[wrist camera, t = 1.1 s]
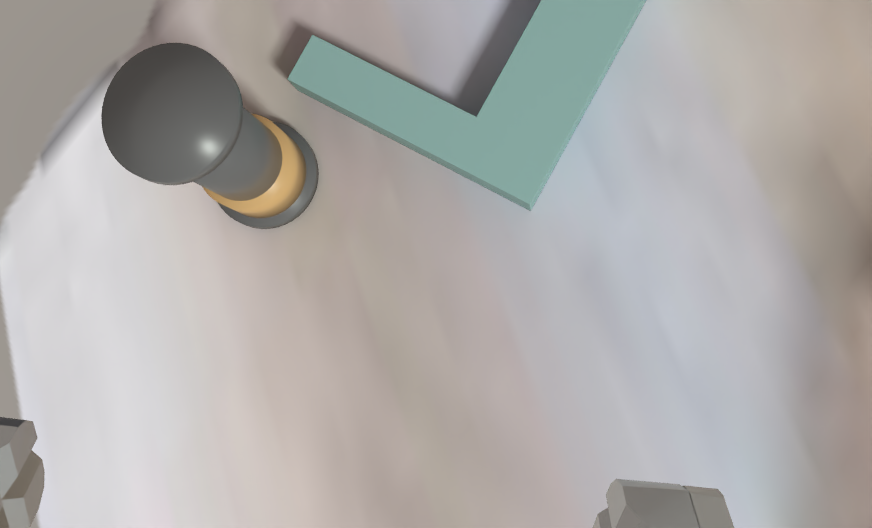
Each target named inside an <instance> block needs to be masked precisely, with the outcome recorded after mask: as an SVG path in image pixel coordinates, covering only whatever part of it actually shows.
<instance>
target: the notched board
mask: <svg viewBox="0 0 872 528" xmlns="http://www.w3.org/2000/svg"><path fill="white" fill-rule="evenodd" d="M645 2H646V0H541V2H540V3H539V5H538V7H537V9H536V11H535V12H534V14H533V16H532V18H531V20H530V21H529V23H528V25H527V27H526V29H525V30H524V32H523V34H522V36H521V38H520V39H519V41H518V43H517V45H516V47H515V48H514V50H513V52H512V54H511V56H510V58H509V59H508V61H507V63H506V65H505V67H504V68H503V70H502V72H501V74H500V76H499V77H498V79H497V81H496V83H495V85H494V86H493V88H492V90H491V92H490V94H489V95H488V97H487V99H486V101H485V103H484V104H483V106H482V108H481V110H480V112H479V113H478V115H477V117H475V116H473V115H471V114H469V113H467V112H465V111H463V110H461V109H459V108H457V107H456V106H454V105H452V104H450V103H448V102H446V101H444V100H442V99H440V98H438V97H436V96H434V95H432V94H430V93H428V92H426V91H424V90H422V89H420V88H418V87H416V86H414V85H412V84H410V83H408V82H406V81H404V80H402V79H400V78H398V77H396V76H394V75H392V74H390V73H388V72H386V71H384V70H382V69H380V68H378V67H376V66H374V65H372V64H370V63H368V62H366V61H364V60H362V59H360V58H358V57H356V56H354V55H352V54H350V53H348V52H346V51H344V50H342V49H340V48H338V47H336V46H334V45H332V44H330V43H328V42H326V41H324V40H322V39H320V38H318V37H316V36H314V35H312V37H311V38H310V40H309V42H308V44H307V45H306V47H305V49H304V51H303V52H302V54H301V56H300V58H299V59H298V61H297V63H296V65H295V67H294V68H293V70H292V72H291V74H290V75H289V77H288V80H289V81H290V82H291V84H292V85H293V86H294V87H295V88H296V89H297V90H298V91H300V92H302V93H304V94H306V95H308V96H310V97H312V98H314V99H315V100H317V101H319V102H321V103H323V104H325V105H327V106H329V107H331V108H333V109H335V110H337V111H339V112H341V113H343V114H344V115H346V116H348V117H350V118H352V119H354V120H356V121H358V122H360V123H362V124H364V125H366V126H368V127H370V128H371V129H373V130H375V131H377V132H379V133H381V134H383V135H385V136H387V137H389V138H391V139H393V140H395V141H397V142H399V143H400V144H402V145H404V146H406V147H408V148H410V149H412V150H414V151H416V152H418V153H420V154H422V155H424V156H426V157H427V158H429V159H431V160H433V161H435V162H437V163H439V164H441V165H443V166H445V167H447V168H449V169H451V170H453V171H454V172H456V173H458V174H460V175H462V176H464V177H466V178H468V179H470V180H472V181H474V182H476V183H478V184H480V185H482V186H483V187H485V188H487V189H489V190H491V191H493V192H495V193H497V194H499V195H501V196H503V197H505V198H507V199H509V200H510V201H512V202H514V203H516V204H518V205H520V206H522V207H524V208H526V209H528V210H530V211H531V209H532V207H533V206H534V204H535V202H536V200H537V198H538V196H539V195H540V193H541V191H542V189H543V187H544V186H545V184H546V182H547V180H548V178H549V176H550V175H551V173H552V171H553V169H554V167H555V165H556V164H557V162H558V160H559V158H560V156H561V155H562V153H563V151H564V149H565V147H566V145H567V144H568V142H569V140H570V138H571V136H572V135H573V133H574V131H575V129H576V127H577V125H578V124H579V122H580V120H581V118H582V116H583V115H584V113H585V111H586V109H587V107H588V105H589V104H590V102H591V100H592V98H593V96H594V94H595V93H596V91H597V89H598V87H599V85H600V84H601V82H602V80H603V78H604V76H605V74H606V73H607V71H608V69H609V67H610V65H611V64H612V62H613V60H614V58H615V56H616V54H617V53H618V51H619V49H620V47H621V45H622V44H623V42H624V40H625V38H626V36H627V34H628V33H629V31H630V29H631V27H632V25H633V24H634V22H635V20H636V18H637V16H638V14H639V13H640V11H641V9H642V7H643V5H644V3H645Z"/></svg>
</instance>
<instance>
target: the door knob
mask: <svg viewBox="0 0 872 528" xmlns="http://www.w3.org/2000/svg"><path fill="white" fill-rule="evenodd" d="M102 129H103V134H104V138H105V141H106V143H107V146H108V148H109V150H110V151H111V153H112V155H113V156H114V157H115V159H116V160H117V161H118V162H119V163H120V164H121V165H122V166H123V167H124V168H125V169H127V170H128V171H130V172H131V173H133V174H135V175H137V176H139V177H141V178H143V179H146V180H148V181H151V182H154V183H157V184H163V185H180V184H186V183H190V182H195V183H197V184H199V185H201V186H202V187H203V188H204V190H205V191H206V193H207V194H208V195H209V196H210V197H211V198H212V199H214V200H215V201H217V202H218V204H219V205H220V207H221V208H222V209H223V210H224V211H225V213H227V214H228V215H229V216H230V217H231V218H233V219H234V220H236V221H238V222H240V223H242V224H244V225H247V226H250V227H253V228H259V229H270V228H276V227H280V226H282V225H285V224H287V223H289V222H291V221H293V220H294V219H295V218H297V217H298V216H299V215H300V214H301V213H303V211H304V210H305V209H306V208H307V207H308V205H309V204H310V202H311V201H312V198H313V196H314V194H315V191H316V188H317V184H318V164H317V160H316V157H315V154H314V152H313V150H312V148H311V147H310V145H309V144H308V142H307V141H306V140H305V139H304V138H303V137H302V136H301V135H300V134H298V133H297V132H296V131H295V130H293V129H292V128H290V127H288V126H286V125H284V124H281V123H277V122H272V121H270V120H268V119H267V118H265V117H262V116H260V115H256V114H251V113H250V112H248V111H247V110H246V109H245V108H243V103H242V98H241V94H240V91H239V87H238V85H237V83H236V81H235V79H234V78H233V76H232V75H231V73H230V72H229V71H228V70H227V69H226V67H225V66H224V65H223V64H221V63H220V62H219V61H218V60H217V59H216V58H215V57H213V56H212V55H211V54H209V53H208V52H206V51H205V50H203V49H200V48H198V47H196V46H192V45H189V44H183V43H167V44H160V45H157V46H153V47H151V48H148V49H146V50H144V51H142V52H140V53H138V54H137V55H135V56H134V57H132V58H131V59H130V60H129V61H128V62H126V63H125V64H124V65H123V66H122V67H121V69H120V70H119V71H118V72H117V73H116V75H115V76H114V78H113V80H112V81H111V83H110V85H109V87H108V89H107V92H106V95H105V98H104V102H103V106H102Z"/></svg>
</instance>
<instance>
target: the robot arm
mask: <svg viewBox="0 0 872 528" xmlns="http://www.w3.org/2000/svg"><path fill="white" fill-rule="evenodd" d="M36 440H37V435H36V431H35V427H34V424H33V422H32V421H27V420H20V419H12V418H4V417H0V528H29V527H30V526H31V524H32V522H33V520H34V518H35V515H36V513H37V511H38V509H39V505H40V501H41V497H42V493H43V489H44V467H43V462H42V459H41V458H40V457H39V456H38V455H36V454H35V453H34V452H33V451H32V450H31V449H32V447H33V446H34V444H35V442H36ZM606 498H607V504H608V508H607V509H605V510H603V511H602V512H600V513H598V515H597V517H596V520H595V523H594V525H593V528H734V526H733V523H732V520H731V517H730V514H729V511H728V508H727V505H726V502H725V499H724V496H723V495H722V493H721V492H720V491H719V490H718V489H712V488H702V487H693V486H681V485H680V484H668V483H657V482H646V481H634V480H623V479H615V480H614V481H613V482H612V483H611V484H610V486H609V489H608V491H607V493H606Z"/></svg>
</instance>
